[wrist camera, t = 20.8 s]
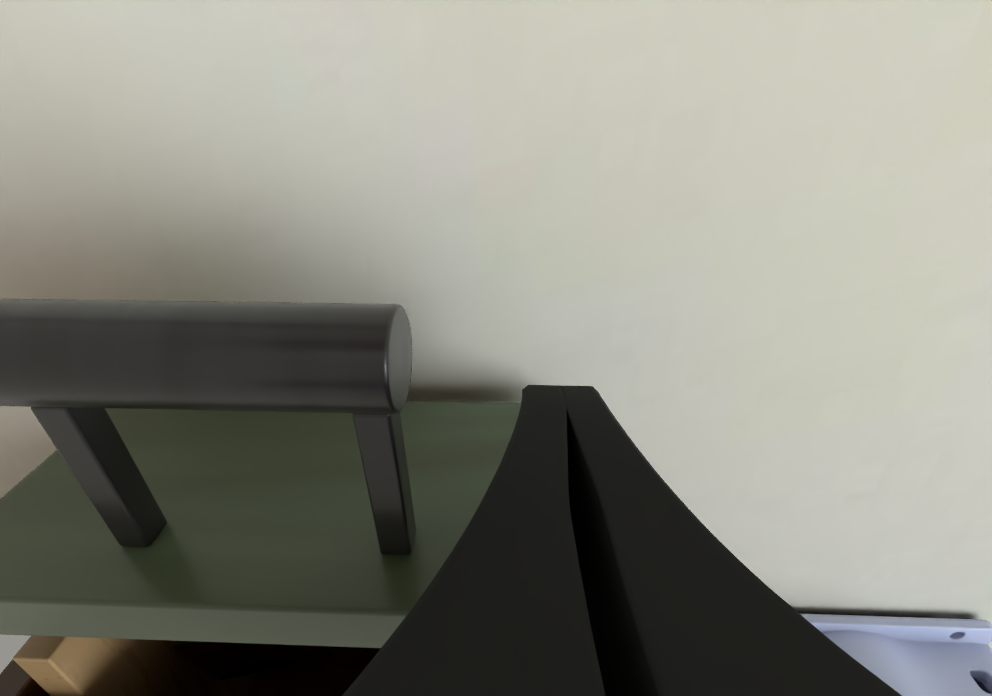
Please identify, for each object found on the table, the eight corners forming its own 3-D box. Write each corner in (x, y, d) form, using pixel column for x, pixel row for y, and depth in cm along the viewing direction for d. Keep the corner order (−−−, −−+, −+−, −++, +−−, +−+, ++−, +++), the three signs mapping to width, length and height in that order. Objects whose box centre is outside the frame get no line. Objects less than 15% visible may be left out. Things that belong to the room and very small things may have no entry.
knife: (264, 587, 16) (220, 681, 14) (223, 552, 15) (168, 647, 13) (483, 528, 14) (476, 625, 12) (451, 483, 13) (437, 579, 11)
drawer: (25, 213, 11) (-402, 352, 6) (588, 218, 10) (656, 371, 5) (244, 635, 20) (154, 829, 15) (545, 647, 19) (555, 849, 14)
